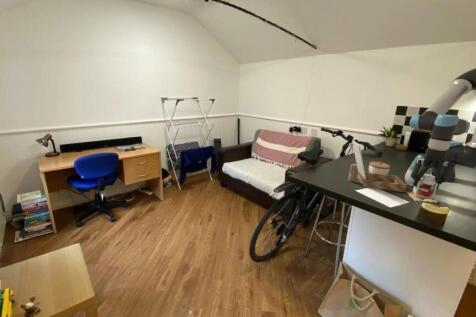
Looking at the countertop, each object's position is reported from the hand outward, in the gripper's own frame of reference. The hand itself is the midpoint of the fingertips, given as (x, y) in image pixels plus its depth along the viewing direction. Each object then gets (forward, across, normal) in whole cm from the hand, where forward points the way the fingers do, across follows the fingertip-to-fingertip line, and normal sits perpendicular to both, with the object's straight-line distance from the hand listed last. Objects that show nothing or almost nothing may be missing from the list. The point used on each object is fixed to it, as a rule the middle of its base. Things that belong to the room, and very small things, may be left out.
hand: (423, 193), depth 112 cm
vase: (+3, -5, -17) cm, 18 cm away
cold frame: (+2, +18, -12) cm, 22 cm away
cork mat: (+2, 0, 0) cm, 2 cm away
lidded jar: (+3, +12, -26) cm, 29 cm away
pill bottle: (+2, 0, 0) cm, 2 cm away
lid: (-11, +28, -12) cm, 33 cm away
